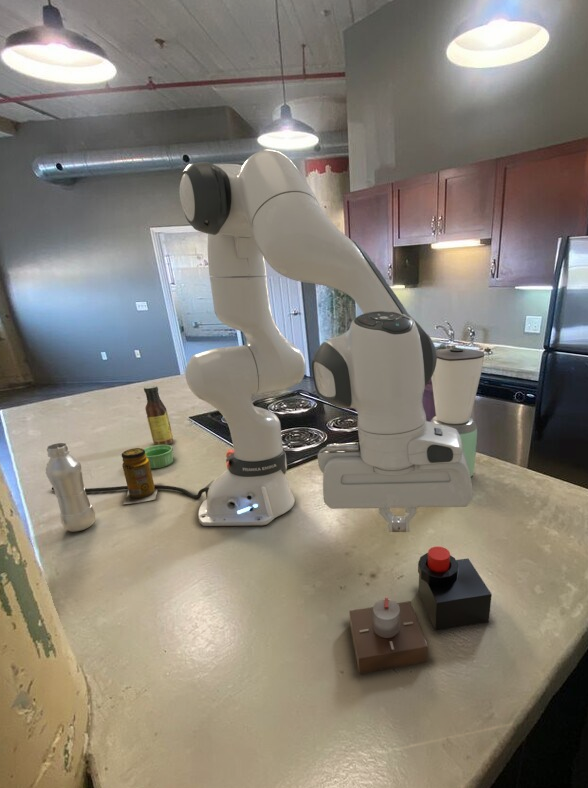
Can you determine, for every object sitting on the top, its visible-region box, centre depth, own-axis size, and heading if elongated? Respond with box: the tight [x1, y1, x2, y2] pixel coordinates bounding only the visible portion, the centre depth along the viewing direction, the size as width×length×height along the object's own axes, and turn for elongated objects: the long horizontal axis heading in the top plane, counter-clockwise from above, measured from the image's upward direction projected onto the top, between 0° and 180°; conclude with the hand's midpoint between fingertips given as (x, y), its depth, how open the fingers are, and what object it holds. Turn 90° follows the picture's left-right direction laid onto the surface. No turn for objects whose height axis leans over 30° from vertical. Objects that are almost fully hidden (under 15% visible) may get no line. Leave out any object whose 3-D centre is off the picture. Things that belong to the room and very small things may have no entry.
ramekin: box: [143, 444, 174, 470], centre depth 126 cm, size 9×9×4 cm
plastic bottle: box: [45, 442, 97, 532], centre depth 91 cm, size 6×7×20 cm
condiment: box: [121, 447, 159, 505], centre depth 106 cm, size 7×8×12 cm
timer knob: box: [372, 597, 400, 638], centre depth 62 cm, size 4×4×4 cm
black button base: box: [417, 552, 492, 632], centre depth 69 cm, size 10×10×8 cm
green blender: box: [429, 347, 486, 479], centre depth 110 cm, size 19×13×35 cm
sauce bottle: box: [143, 385, 174, 446], centre depth 138 cm, size 6×6×20 cm
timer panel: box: [348, 600, 429, 675], centre depth 63 cm, size 10×9×3 cm
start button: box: [427, 546, 451, 573], centre depth 69 cm, size 4×4×2 cm
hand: (399, 529), depth 59 cm, fingers closed
